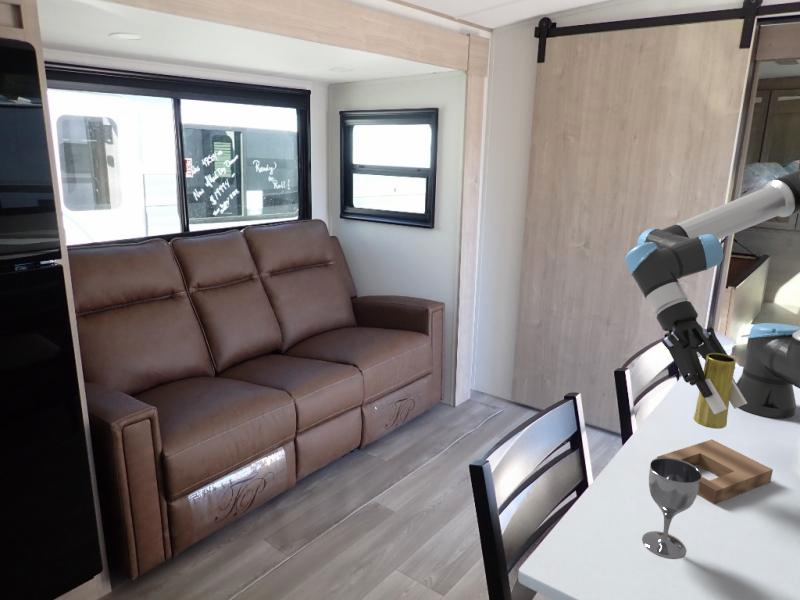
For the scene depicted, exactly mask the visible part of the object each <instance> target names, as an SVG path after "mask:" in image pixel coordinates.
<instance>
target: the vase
mask: <svg viewBox="0 0 800 600" xmlns="http://www.w3.org/2000/svg"><path fill="white" fill-rule="evenodd" d="M736 362H737V359H736V358H735V357H733V356H731V355H728V354H727V355H725V354H720V353H709V354H707V356H706V361H704V368H703V372H704V375H705V380H706V379H709V378H710V380H711V382H712V383H713V385H714V387H715V389H716V390H717V392H718V394H719V395H720V397H721V399H722V401H723V402H724V404H725V406H726V407H727V409H726V410H724V411H722V412H719V413H717V414H714V413H713V411H712V410H711V408H710V406H709V404H708V403H707V401H706V399H705V398H704V397H703V396H702V394H701V392H700V391H699V390H698V397H697V399H696V400H697V402H696V408H695V412H694V415H693V421H694V422H695V423H696V424H698V425H700V426H703V427H705V428H710V429H717V430H719V429H724V428H726V427H727V425H728V424H727V423H728V422H727V421H728V415H729V406H730V401H729V399H730V392H731V386H732V380H733V379H734V374H735V370H736Z"/></svg>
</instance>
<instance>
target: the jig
mask: <svg viewBox="0 0 800 600" xmlns="http://www.w3.org/2000/svg"><path fill="white" fill-rule="evenodd" d="M661 457H669V458H676V459H680V460H683V461H685V462H688V463H690V464H692V465H693V466H695V467H697V466H699V467H701V468H703V469H704V470H707V472H708V471H709V472H710V473H712V474H713V475H715V476H717V477H716V478H712V479H710V480H709V479H707V478H706V477H703V476H702V475H701V484H700V488H699V491H698V494H697V496H699V497H701V498H703V499H705V500H706V501H708V502H709V503H712V504H713V505H715V504H719V503H720V502H722V501H726V500H728V499H730V498H734V497H736V496H738V495H742V494H743V493H746V492H748V491H751V490H754V489H757V488H758V487H762V486H764V485H766V484H768V483H771V482H772V475H773V471H774V469H772V468H770V467H768V466H767V465H764V464H763V463H760V462H758V461H756V460H754V459H753V458H750V457H749V456H747V455H744V454H742V453H741V452H738V451H737V450H734V449H732V448H730V447H728V446H727V445H724V444H723V443H720V442H718V441H716V440H714V439H709V440H705V441H702V442H699V443H695V444H693V445H690V446H687V447H683V448H680V449H677V450H674V451H670V452H668V453H664V454H661V455H658V456H656V458H661Z"/></svg>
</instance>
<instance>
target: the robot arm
mask: <svg viewBox="0 0 800 600" xmlns="http://www.w3.org/2000/svg"><path fill="white" fill-rule="evenodd" d="M799 213H800V169H798V170H795V171H791V172H789V173H787V174H785V175H782V176H779V177H777V178H775V179H772V180H770V181H769V182H767V183H766V185H765V186H764V188H761V189H758V190H756V191H754V192H752V193H749V194H746V195H744V196H742V197H739V198H737V199H734V200H732V201H729V202H727V203H724V204H722V205H719V206H717V207H715V208H712V209H709V210H707V211H705V212H703V213H699V214H698V215H696V216H693V217H690V218H688V219H685V220H683V221H680V222H678V223H676V224H673V225H670V226H668V227H664V228H662V229H661V228H649V229H647V230H645V231H643V232H642V233H641V234H640V235H639V237H638V239H637V243H636V244H637V245H636V246H634V247H632V249H631V250H629V251H628V252H627V254H626V255H625V259H624V260H625V264H626V267H627V268H628V270H629V273H630V275H631V276H632V277H633V279H634V280H635V282H636V284H637V286H638V288H639V289H640V291H641V292H642V294H643V297H644V298H645V300H646V301H647V303H648V305H649V306H650V309H651V311H652V312H653V314H654V315H656V320H657V322H658V323H659V325H660V327H661V329H662V330H663V331H664V332H667V333H668V335H667V336H666V337H665V338H662V340H661V343H662V344H663V345H664V347H665V348H666V349H667V350H668V351H669V354H670V356H671V358H672V359H673V361H674V363H675V365H676V367H677V369H678V371H679V372H680V375H681V376H682V378H683V381H684V382H685V383H689V385H690V386H696V388H697V389H698V392H699V391H700V392H701V394H702V396H703V397H704V398H705V399H706V401H707V403H708V404H709V406H710V408H711V410H712V411H713V413H714V414H717V413H719V412H722V411H724V410H726V409H727V407H726V406H725V404H724V402H723V401H722V399H721V397H720V395H719V394H718V392H717V390H716V389H715V387H714V385H713V383H712V382H711V380H710V378H709V379H706V380H705V375H704V372H703V371H704V368H703V367H702V366H703V365H702V363H701V361H700V357H699V355H700V356H701V357H702V358H703V360H705V361H706V356H707V354H709V353H720V354H725V355H728V353H727V351H726V349H725V348H724V347H723V345H722V344H721V342H720V341H719V339H718V338H717V335H716V332H715V329H714V328H713V327H711V326H710V327H708V328H704V327H702V325H701V324H699V323H698V320H697V318H698V317H699V315H698V311H697V310H696V308H695V307H694V305H693V303H692V302H691V301H689V297H688V295H687V294H686V293H687V292H685V290H684V289H683V286H682V285H681V284H680V282H679V281H678V280H679V279H682V278H685V277H687V276H692V275H695V274H698V273H701V272H703V271H708V270H709V269H711V268H713V267H717V266H718V265H720V264H721V262H722V261H723V259H724V248H723V246H722V243H721V242H720V240H722V239H724V238H726V237H729V236H732V235H733V234H736V233H739V232H740V231H743V230H746V229H748V228H750V227H753V226H756V225H759V224H761V223H763V222H765V221H768V220H771V219H774V218H775V217H779V218H780V217H781V218H787V217H790V216H792V215H795V214H799ZM746 344H747V345H746V349H745V356H744V360H743V361H744V362H743V367H742V373H741V375H740V377H739V378H738V380H737V382H736V380H735V378H733V380H732V386H731V392H730V399H729V403H730V405H731V406H732V407H733V409H740V410H743V411H745V412H748V413H750V414H754V415H756V416H757V415H758V416H762V417H766V418H767V417H768V418H774V419H775V418H776V419H778V418H779V419H783V418H790V417H792V416H794V415H795V413H796V408H797V401H796V396H795V391H794V387H796V388H797V389H800V326H797V325H793V324H792V325H791V324H786V323H775V322H772V323H771V322H762V323H761V322H759V323H757V324H756V323H755V324H754V325H752V326H751V328H750V331H749V335H748V337H747V343H746ZM698 354H699V355H698ZM705 361H704V362H705Z"/></svg>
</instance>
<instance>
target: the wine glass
mask: <svg viewBox="0 0 800 600" xmlns="http://www.w3.org/2000/svg"><path fill="white" fill-rule="evenodd" d="M648 471H649V473H648V486H649V487H648V488H649V492H650V496H651V498H652V499H653V501H654V502H655V504H656V505H657V506H658V508H659V509H660V510H661V512H662V515H663V531H658V530H656V531H655V530H654V531H653V530H652V531H648V532H646V533H644V534H643V535H642V538H641V541H642V544H643V546H644V547H645V548H646V549H647V550H648V551H650V552H651V553H653V554H655V555H657V556H658V557H662V558H664V559H665V558H666V559H672V560H673V559H680V558H682V557H684V556H685V555H686V553H687V548H686V546H685V544H684V542H683V541H681V540H680V539H679V538H677V537H676V536H675V535H672V534H671V533H669V529H670V527H671V522H672V520H673V519H674V517H676V515H678V514H680V513H683V512H685V511H686V510H688V509H689V508H691V507H692V506H693V504H694V503H695V501H696V499H697V497H698V491H699V488H700V484H701V476H702V472H701V471H700V469H698V468H697V466H693V465H692V464H690V463H688V462H685V461H683V460H680V459H676V458H669V457H661V458H657V457H656V458H654V459H652V460H651V462H650V465H649V469H648Z"/></svg>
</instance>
